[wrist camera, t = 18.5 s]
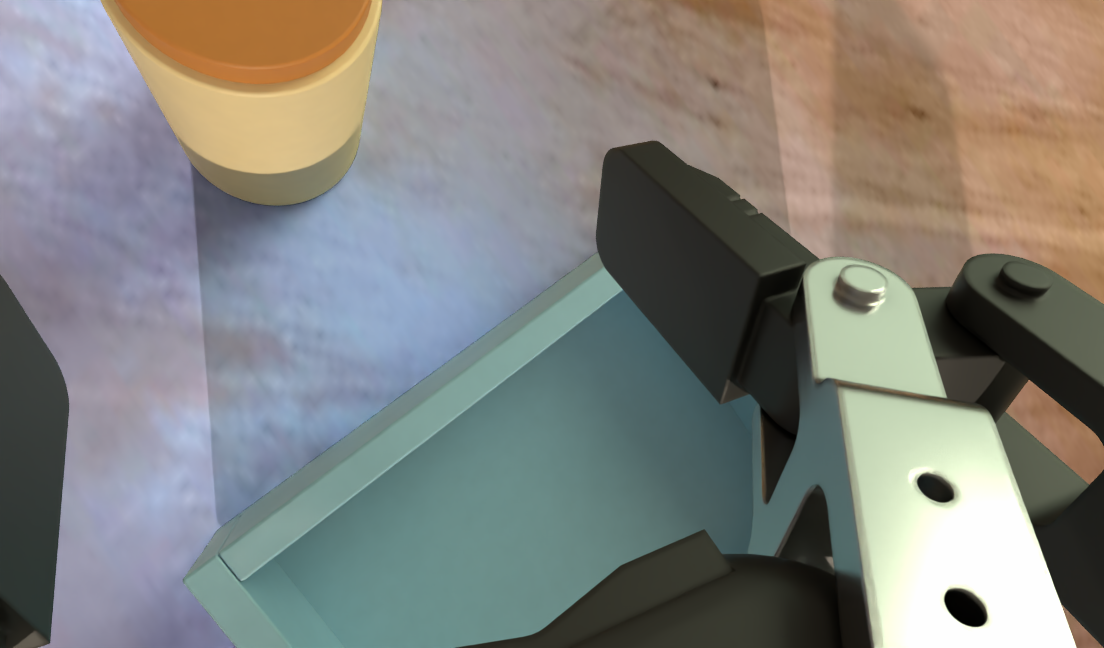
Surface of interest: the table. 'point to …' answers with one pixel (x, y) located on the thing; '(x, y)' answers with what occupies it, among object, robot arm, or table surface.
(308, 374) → the table surface
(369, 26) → the lidded cream canister
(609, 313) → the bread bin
